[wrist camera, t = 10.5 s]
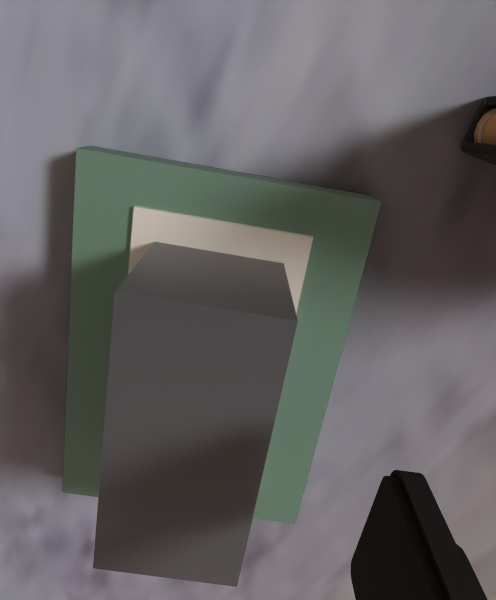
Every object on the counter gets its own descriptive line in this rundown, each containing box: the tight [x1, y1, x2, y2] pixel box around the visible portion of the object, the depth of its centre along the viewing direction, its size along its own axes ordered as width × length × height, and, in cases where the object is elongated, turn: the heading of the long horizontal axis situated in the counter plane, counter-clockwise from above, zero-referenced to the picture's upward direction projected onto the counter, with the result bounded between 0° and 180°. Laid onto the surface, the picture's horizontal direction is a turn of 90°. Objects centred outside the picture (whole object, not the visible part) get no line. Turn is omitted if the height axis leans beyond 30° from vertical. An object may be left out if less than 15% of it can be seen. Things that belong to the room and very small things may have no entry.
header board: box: [62, 146, 382, 524], centre depth 17 cm, size 14×10×5 cm
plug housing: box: [93, 242, 298, 587], centre depth 15 cm, size 9×4×5 cm, turn 170°
